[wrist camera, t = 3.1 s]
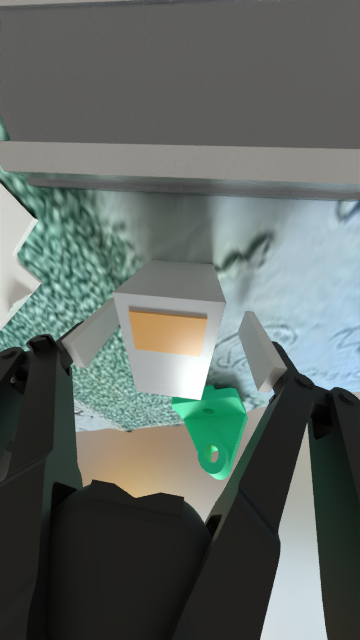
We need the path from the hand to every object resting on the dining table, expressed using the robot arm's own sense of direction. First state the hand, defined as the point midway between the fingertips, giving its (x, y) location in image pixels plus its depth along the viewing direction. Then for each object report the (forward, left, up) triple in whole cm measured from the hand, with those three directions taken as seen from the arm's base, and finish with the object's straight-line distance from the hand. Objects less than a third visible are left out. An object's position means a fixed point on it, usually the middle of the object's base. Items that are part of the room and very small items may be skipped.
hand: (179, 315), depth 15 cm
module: (0, 0, -2) cm, 2 cm away
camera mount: (+6, -20, -2) cm, 21 cm away
